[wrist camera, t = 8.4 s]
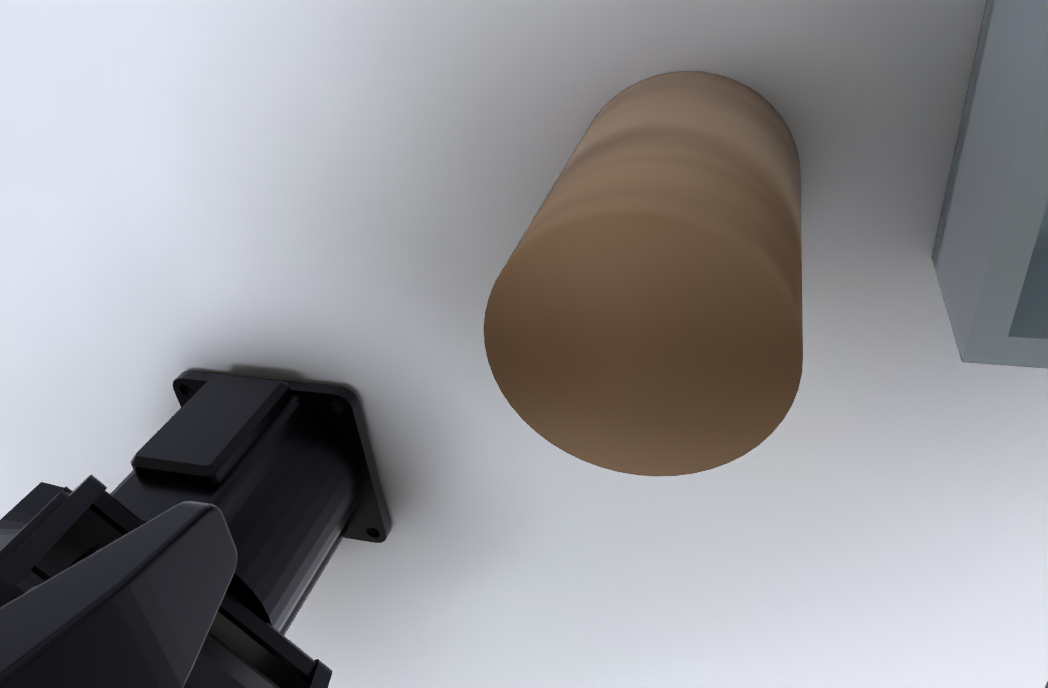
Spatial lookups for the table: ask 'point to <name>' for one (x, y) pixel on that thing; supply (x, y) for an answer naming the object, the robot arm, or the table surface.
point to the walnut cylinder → (659, 284)
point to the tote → (1000, 195)
